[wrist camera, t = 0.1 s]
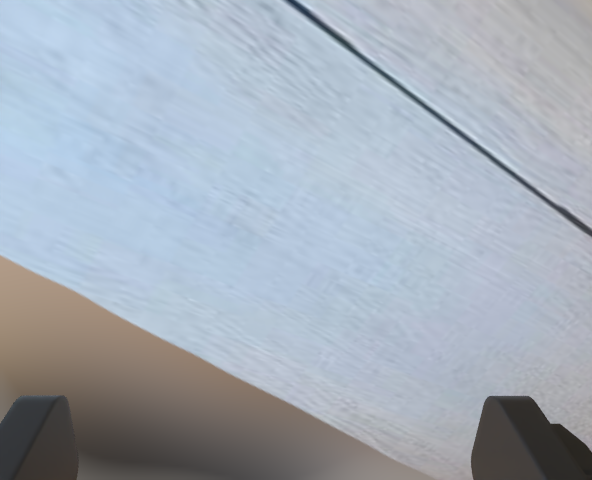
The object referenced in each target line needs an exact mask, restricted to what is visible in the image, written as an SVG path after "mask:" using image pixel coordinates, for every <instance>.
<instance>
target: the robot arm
mask: <svg viewBox="0 0 592 480" xmlns="http://www.w3.org/2000/svg"><path fill="white" fill-rule="evenodd" d="M471 467H472V474H473V479H474V480H592V452H591V451H590V450H589V448H588V447H587V446H586V444H584V443H583V442H582V441H581V440H579V439H578V438H577V437H576V436H574V435H573V434H572V433H571V432H569V431H568V430H567V429H566V428H565V427H563V426H562V425H561V424H550V422H549V421H548V420H547V418H546V417H545V415H544V414H543V412H542V411H541V409H540V408H539V407H538V405H537V404H536V402H535V401H534V400H533V399H532V398H531V397H529V396H489V397H488V398H487V399H486V400H485V403H484V406H483V410H482V414H481V418H480V422H479V426H478V430H477V434H476V438H475V442H474V446H473V450H472V456H471ZM77 473H78V452H77V447H76V441H75V435H74V430H73V424H72V419H71V413H70V408H69V403H68V400H67V398H66V397H65V396H20V397H19V398H18V399H17V400H16V401H15V402H14V403H13V405H12V407H11V408H10V410H9V411H8V413H7V414H6V416H5V417H4V419H3V420H2V422H1V423H0V480H76V478H77Z"/></svg>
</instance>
